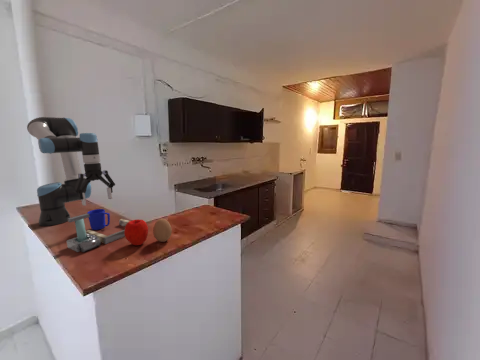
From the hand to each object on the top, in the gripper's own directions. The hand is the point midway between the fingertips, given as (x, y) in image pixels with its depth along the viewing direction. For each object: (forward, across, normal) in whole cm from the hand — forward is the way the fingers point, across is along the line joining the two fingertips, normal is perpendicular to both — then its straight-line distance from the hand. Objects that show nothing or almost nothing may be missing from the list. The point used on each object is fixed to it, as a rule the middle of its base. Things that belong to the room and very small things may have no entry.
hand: (97, 201), depth 125 cm
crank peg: (+14, -16, -14) cm, 26 cm away
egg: (+16, +5, -44) cm, 47 cm away
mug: (+16, 0, 0) cm, 16 cm away
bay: (+15, 0, -12) cm, 20 cm away
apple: (+16, -3, -36) cm, 39 cm away
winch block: (+16, -16, -16) cm, 27 cm away
